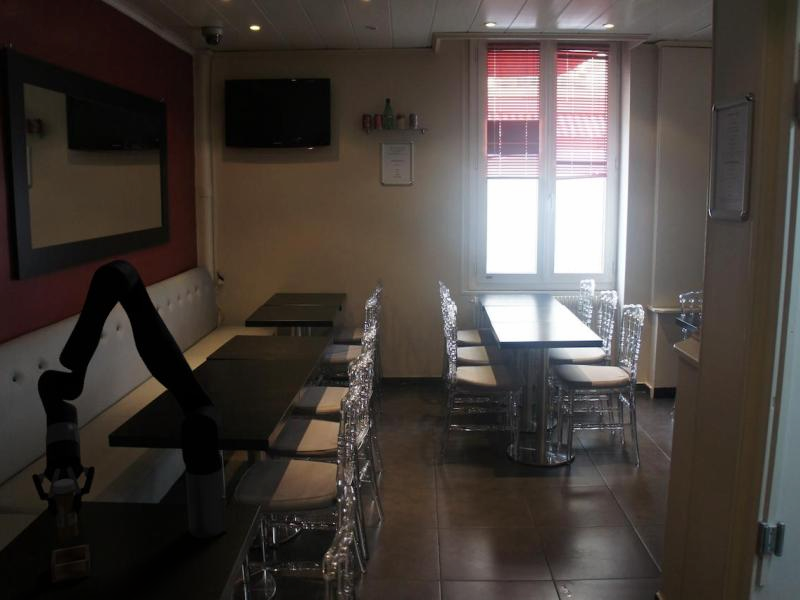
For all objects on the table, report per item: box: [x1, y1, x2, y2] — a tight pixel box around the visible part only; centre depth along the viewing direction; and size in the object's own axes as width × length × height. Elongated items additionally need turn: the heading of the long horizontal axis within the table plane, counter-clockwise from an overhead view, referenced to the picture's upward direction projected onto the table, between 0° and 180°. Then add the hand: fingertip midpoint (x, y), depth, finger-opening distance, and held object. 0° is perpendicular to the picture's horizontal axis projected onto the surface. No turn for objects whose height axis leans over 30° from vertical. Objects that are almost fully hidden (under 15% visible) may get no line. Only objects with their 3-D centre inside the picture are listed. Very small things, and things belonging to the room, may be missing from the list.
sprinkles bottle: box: [53, 479, 79, 541], centre depth 174 cm, size 5×5×14 cm
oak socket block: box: [50, 543, 91, 584], centre depth 176 cm, size 8×8×4 cm
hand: (65, 513), depth 172 cm, fingers closed on sprinkles bottle, 4 cm apart
